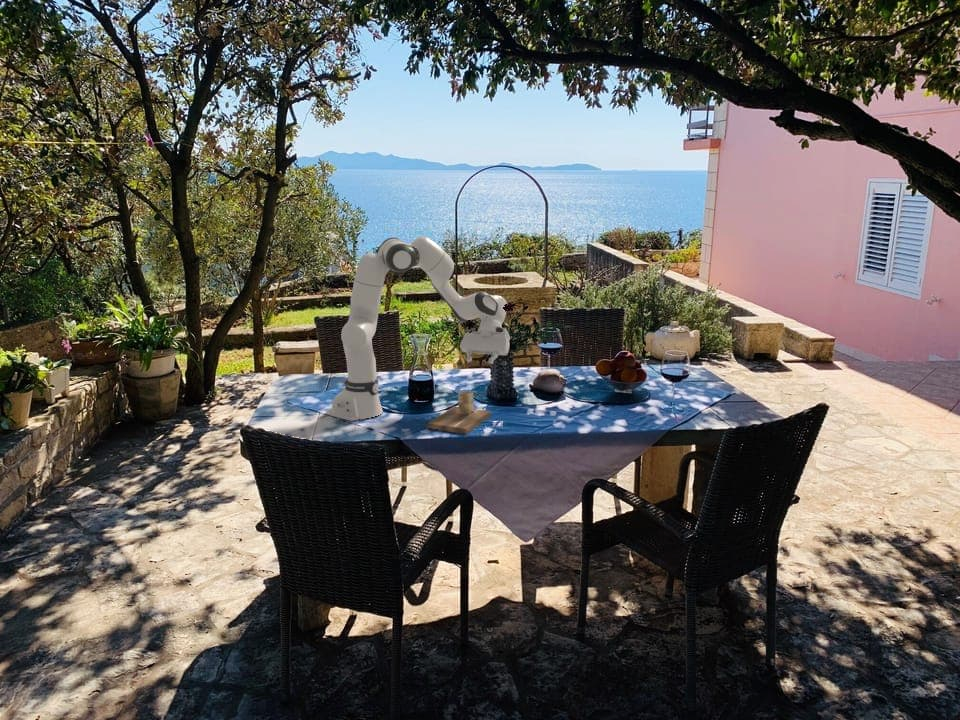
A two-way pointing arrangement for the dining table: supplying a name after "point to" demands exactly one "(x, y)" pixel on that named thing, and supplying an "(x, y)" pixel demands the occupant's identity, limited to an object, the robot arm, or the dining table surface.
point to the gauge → (465, 402)
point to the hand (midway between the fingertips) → (479, 361)
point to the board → (459, 420)
